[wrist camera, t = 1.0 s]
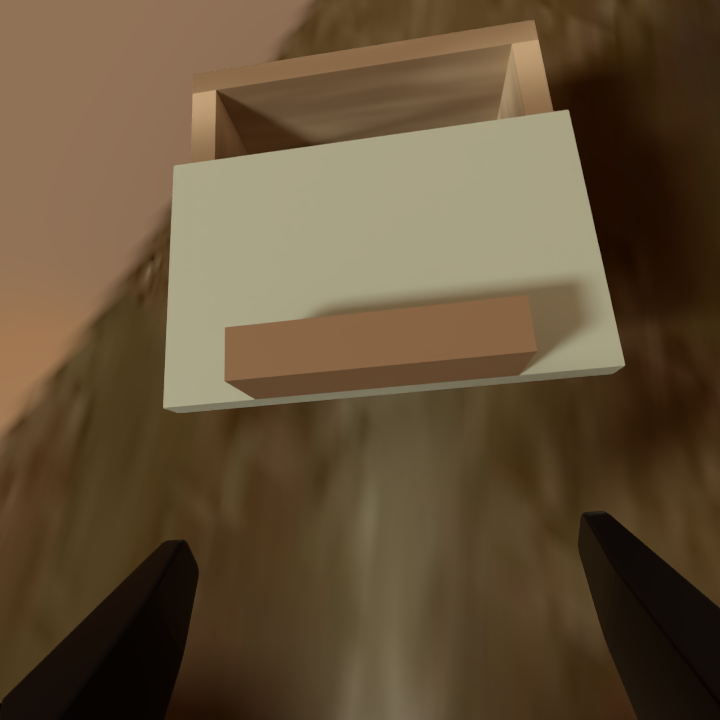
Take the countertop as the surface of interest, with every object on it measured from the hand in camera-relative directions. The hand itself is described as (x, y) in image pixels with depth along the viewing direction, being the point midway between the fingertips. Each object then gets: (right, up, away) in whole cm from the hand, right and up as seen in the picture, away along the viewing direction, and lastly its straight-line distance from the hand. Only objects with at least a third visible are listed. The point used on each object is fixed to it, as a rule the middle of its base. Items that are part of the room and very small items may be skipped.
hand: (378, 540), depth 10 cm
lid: (0, +7, +8) cm, 10 cm away
